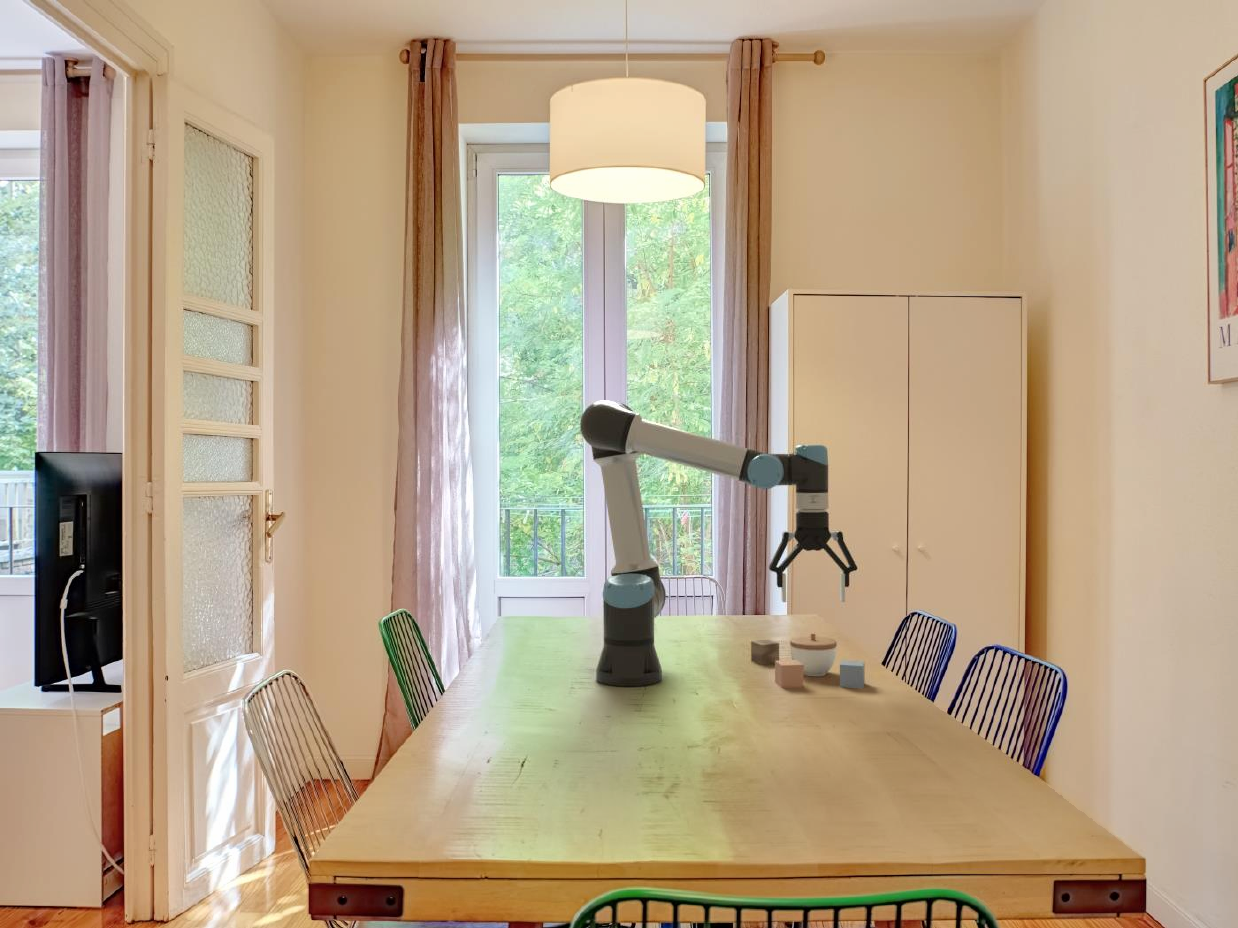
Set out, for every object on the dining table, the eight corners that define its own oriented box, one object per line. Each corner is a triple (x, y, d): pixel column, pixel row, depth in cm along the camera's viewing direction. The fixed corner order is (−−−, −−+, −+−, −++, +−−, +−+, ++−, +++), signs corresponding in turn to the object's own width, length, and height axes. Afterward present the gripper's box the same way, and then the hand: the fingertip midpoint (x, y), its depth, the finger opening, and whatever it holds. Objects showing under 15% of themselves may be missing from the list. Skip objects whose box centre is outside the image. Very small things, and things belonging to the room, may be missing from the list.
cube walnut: (761, 665, 240) (761, 644, 240) (751, 661, 245) (751, 641, 245) (779, 663, 242) (779, 643, 242) (768, 659, 247) (768, 639, 246)
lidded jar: (824, 680, 223) (824, 639, 223) (781, 674, 230) (781, 634, 230) (844, 672, 232) (844, 632, 232) (802, 666, 238) (802, 627, 238)
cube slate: (839, 687, 218) (839, 664, 218) (841, 681, 223) (841, 659, 223) (863, 688, 216) (863, 666, 216) (864, 683, 221) (864, 661, 221)
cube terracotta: (781, 687, 217) (781, 665, 217) (775, 682, 222) (775, 660, 222) (803, 687, 218) (803, 664, 218) (796, 681, 223) (796, 659, 223)
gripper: (760, 512, 227) (761, 603, 227) (869, 511, 226) (870, 603, 226) (757, 510, 235) (758, 598, 235) (862, 509, 234) (863, 598, 234)
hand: (813, 601), depth 231 cm, fingers open, 13 cm apart
